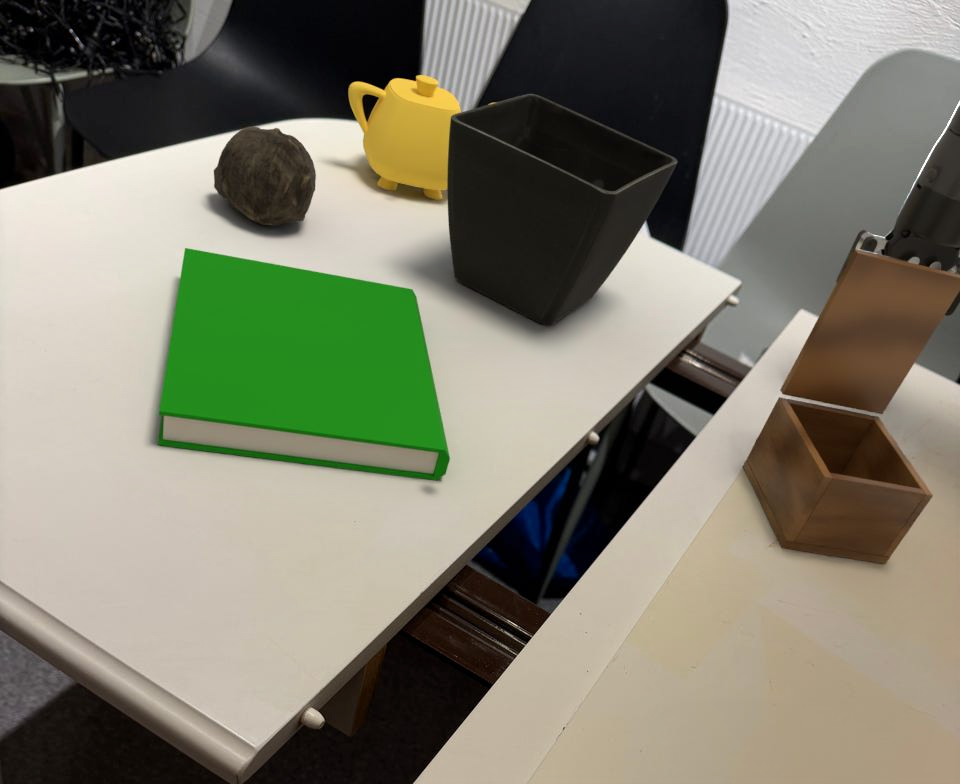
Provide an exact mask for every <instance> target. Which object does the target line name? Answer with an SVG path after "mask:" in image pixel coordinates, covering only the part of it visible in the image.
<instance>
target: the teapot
mask: <svg viewBox="0 0 960 784" xmlns="http://www.w3.org/2000/svg"><path fill="white" fill-rule="evenodd" d="M439 85H440V82H439V81H438V80H437V79H435V78H434V77H431V76H428V75H425V74H419V75H416V76H415V80H413V79H412V80H411V79H406V78H400V77H395V78H392V79H391V80H390V81H389V82H388V84H387V85H386V86H385V88H384V89H382V88H380V87H377V86H375V85H372V84H370V83H367V82H364V81H353V82H352V83H350V84H349V86H348V93H347V94H348V101H349V105H350V109H351V110H352V112H353V115H354V118H355V119H356V122H357V123H358V125H359V127H360V129H361V131H362V133H363V136H362V137H363V138H362V147H363V151H364V154H365V157H366V160H367V162H368V165H369V166H370V167H371V169H372V170H373V172H375V173H376V174H377V175H378V176H380V178H379V179H378V181H377V183H376V185H377V186H378V187H379V188H381V189H384V190H387V191H396V190H397V188H398V185H399V184H402V185H407V186H410V187H415V188H420V189H423V195H424V196H425V197H427V198H429V199H432V200H435V201H436V200H439V201H440V200H443V195H442V194H443V193H442V191H447V175H448V148H449V132H450V121H451V116H452V115H454V114H458V113H461V112H462V109H461V106H460V103H459V101H458V99H457V98H456V96H455V95H454V94H453V93H451V91H448V90H446V89H445V88H442V87H440V86H439ZM365 95H370V96H374V97H377V98H378V99H377V101H376V103H375V105H374V106H373V108H372V110H371V112H370V114H369V117H368V119H366V116H365V111H364V105H363V97H364V96H365ZM497 102H498V101H497ZM497 102H491V103H490V104H493V103H497Z"/></svg>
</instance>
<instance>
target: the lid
mask: <svg viewBox="0 0 960 784" xmlns="http://www.w3.org/2000/svg"><path fill="white" fill-rule="evenodd" d="M959 291H960V275H959V274H954V273H951V271H950V272H949V271H947V272H946V271H942V270H938V269H934V268H930V267H926V266H922V265H917V264H913V263H909V262H908V261H905V260H901V259H897V258H893V257H889V256H885V255H882V254H880V253H872V252H868V251H864V250H860V249H858V250H856V249H855V250H854V252H853V254H852V255H851V257H850V259H849V261H848V263H847V265H846V267H845V269H844V271H843V273H842V274H841V276H840V278H839V280H838V282H836V284H835V286H834V288H833V289H832V291H831V293H830V295H829V297H828V298H827V301H826V303H825V304H824V307H823V309H822V310H821V312H820V314H819V316H818V318H817V320H816V321H815V324H814V325H813V327H812V329H811V331H810V333H809V335H808V337H807V338H806V340H805V342H804V344H803V346H802V348H801V350H800V351H799V354H798V355H797V358H796V359H795V361H794V363H793V365H792V366H791V369H790V371H789V372H788V374H787V376H786V378H785V380H784V382H783V384H782V385H781V387H780V392H781V394H782V395H783V396H788V397H792V398H793V397H794V398H798V399H804V400H809V401H813V402H819V403H824V404H829V405H834V406H839V407H845V408H849V409H854V410H858V411H859V410H860V411H865V412H869V413H874V414H879V415H884V412H886V410H887V408H888V406H889V405H890V403H891V401H892V400H893V398H894V397H895V395H896V393H897V392H898V390H899V389H900V387H901V385H902V384H903V382H904V381H905V379H906V377H907V376H908V374H909V373H910V371H911V370H912V368H913V366H914V365H915V363H916V362H917V360H918V358H919V356H920V355H921V354H922V352H923V351H924V348H925V347H926V346H927V344H928V342H929V341H930V339H931V337H932V336H933V334H934V332H935V331H936V330H937V328H938V326H939V325H940V323H941V321H942V320H943V318H944V317H945V316H946V315H945V313H946V312H947V310H948V309H949V307H950V305H951V304H952V302H953V301H954V299H955V297H956V296H957V294H958V293H959Z"/></svg>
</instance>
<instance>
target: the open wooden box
mask: <svg viewBox="0 0 960 784" xmlns="http://www.w3.org/2000/svg"><path fill="white" fill-rule="evenodd" d="M742 467H743V469H744V471H745V473H746V476H747V478H748V480H749V482H750V484H751V486H752V488H753V490H754V492H755V495H756V496H757V498H758V500H759V502H760V504H761V507H762V509H763V511H764V513H765V515H766V517H767V520H768V521H769V523H770V525H771V528H772V531H773V532H774V534H775V536H776V538H777V541H778V542H779V544H780V546H781V548H782V549H788V550H794V551H801V552H808V553H813V554H820V555H827V556H832V557H839V558H846V559H851V560H858V561H865V562H872V563H875V564H876V563H878V564H884V565H886V564H887V563H888V561H889V560H890V558H891V557H892V555H893V554H894V552H895V551H896V550H897V548H898V547H899V545H900V544H901V543H902V541H903V540H904V538H905V537H906V536H907V534H908V533H909V531H910V530H911V528H912V527H913V526H914V524H915V522H917V520H918V518H919V517H920V515H921V514H922V512H923V511H924V510H925V508H926V507H927V505H928V504H929V503H930V501H931V500H932V499H933V497H934V495H933V493H932V492H931V490H930V489H929V487H928V486H927V485H926V483H925V482H924V480H923V479H922V478H921V476H920V475H919V473H918V472H917V470H916V469H915V468H914V466H913V464H912V463H911V461H910V460H909V458H908V457H907V456H906V455H905V453H904V451H903V450H902V449H901V447H900V446H899V444H898V443H897V442H896V440H895V439H894V437H893V436H892V434H891V433H890V431H889V430H888V428H887V427H886V425H885V424H884V423H883V421H882V420H881V419H880V417H879V416H877V415H872V414H868V413H863V412H858V411H851V410H847V409H842V408H837V407H833V406H827V405H821V404H817V403H812V402H807V401H802V400H796V399H791V398H786V397H781V396H779V397H777V401H776V402H775V404H774V406H773V408H772V410H771V411H770V413H769V415H768V417H767V418H766V421H765V423H764V425H763V427H762V428H761V430H760V433H759V435H758V436H757V438H756V441H754V444H753V445H752V448H751V450H750V452H749V453H748V456H747V457H746V459H745V461H744V463H743V465H742Z"/></svg>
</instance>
